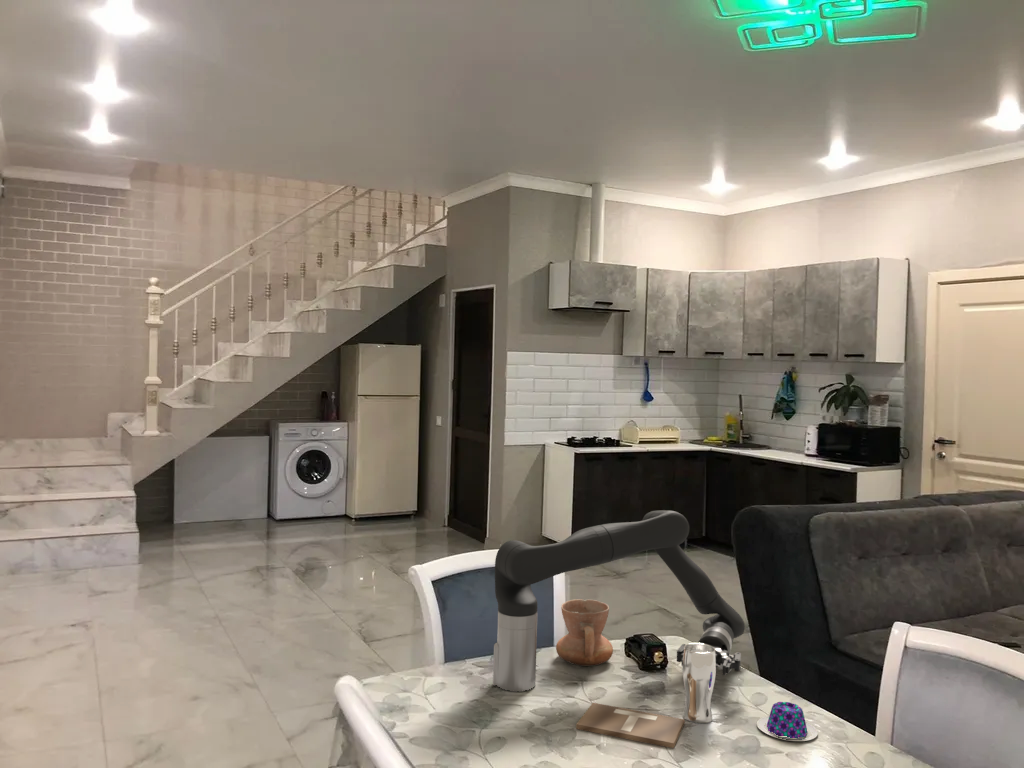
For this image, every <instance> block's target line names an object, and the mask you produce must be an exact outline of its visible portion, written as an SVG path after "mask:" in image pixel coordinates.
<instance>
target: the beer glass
mask: <svg viewBox="0 0 1024 768" xmlns="http://www.w3.org/2000/svg"><path fill="white" fill-rule="evenodd" d="M685 644H686V645H685V646H684V654H683V666H682V679H683V686H684V687H683V688H684V695H685V703H684V709H683V715H682V716H683V719H685V721H688V722H690V723H694V724H700V725H701V724H703V725H704V724H709V723H711V722H712V721H713V712H712V711H713V710H712V698H713V697H712V696H713V691H714V688H715V687H714V686H715V681H716V676H717V667H716V655H715V648H714V647H712V646H710V645H707V644H702V643H698V642H691V643H685Z"/></svg>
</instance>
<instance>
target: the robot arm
mask: <svg viewBox="0 0 1024 768" xmlns="http://www.w3.org/2000/svg"><path fill="white" fill-rule="evenodd" d="M689 533H690V523H689V521H688V519H687V518H686V517H685V516H684V514H681V513H679V512H678V511H674V510H665V509H663V510H651V511H650V512H647V513H646V514H645V515H644V516H643V518H642V520H640V521H631V522H629V521H626V522H612V523H611V522H610V523H603V524H598V525H593V526H589V527H585V528H582V529H578V530H577V531H575V532H573V533H572V534H571V535H569V536H568V537H566V538H565V539H563V540H561V541H558V542H555V543H550V544H549V543H548V544H544V545H543V544H541V545H530V544H528V543H526V542H523V541H520V540H517V539H516V540H515V539H513V540H512V539H511V540H507V541H506V542H504V543H503V544H502V545H501V546H500V547H499V548H498V551H497V552H496V555H495V559H494V592H495V593H494V594H495V595H494V596H495V598H496V602H497V632H496V633H497V636H496V639H497V642H495V643H494V644H493V664H492V665H493V668H492V672H493V673H492V685H493V686H495V685H497V686H496V687H498V688H499V687H500V688H499V689H501V688H502V689H501V690H504V689H505V690H504V691H507V690H510V691H509V692H517V691H519V692H526V691H525V690H527V691H530V690H532V689H534V688H535V687H536V681H537V680H536V679H537V672H536V671H537V644H538V643H537V641H538V636H537V634H538V633H537V632H538V630H537V629H538V600H537V597H536V596H535V594H534V592H533V590H532V586H531V585H535V584H536V583H539V582H542V581H544V580H547V579H550V578H552V577H554V576H557V575H560V574H564V573H567V572H573V571H577V570H582V569H587V568H591V567H595V566H600V565H604V564H607V563H611V562H614V561H618V560H620V559H624V558H627V557H631V556H633V555H636V554H639V553H641V552H645V551H651V550H654V552H655V553H656V554H657V555H658V556H659V557H660V559H661V560H662V561H663V562H664V564H665V565H666V566H667V567H668V569H670V571H671V572H672V574H673V575H674V576H675V578H676V579H677V581H679V583H680V585H681V586H682V588H683V590H684V591H685V593H686V595H688V598H690V600H691V602H692V604H693V605H694V607H695V608H696V610H697V611H698V613H700V614H701V615H712V616H710V617H708V618H706V619H704V621H703V622H702V629H703V633H702V634H701V636H700V638H699V639H698V642H697V643H702V644H707V645H710V646H712V647H714V648H715V655H716V668H717V667H718V669H720V670H722V671H721V672H722V673H721V674H722V676H726V675H727V674H730V672H731V671H732V670H734V672H740V671H741V665H742V662H741V661H742V653H741V652H739V651H737V652H735V653H733V654H731V651H732V645H733V643H734V639H736V638H739V637H741V636H742V635H743V634H744V633H745V630H746V625H745V621H744V620H743V617H742V616H741V615H740V613H738V611H737V610H736V609H734V607H732V606H731V605H730V603H729V604H728V602H727V601H726V600H725V599H724V598H723V597H722V596H721V595H720V593H719V591H718V590H717V589H716V587H715V585H714V583H713V582H712V580H711V578H710V577H709V576H708V575H707V574H706V572H705V571H704V570H703V569H702V568H701V567H700V566H699V565H698V564H697V563H696V562H694V561H693V559H692V558H691V557H689V556H688V555H687V553H686V552H685V551H684V550H683V548H682V547H681V546H680V545H681V544H683V543H684V542H685V541H686V540H687V538H688V536H689ZM714 614H715V615H714ZM686 644H687V643H682V644H681V645H680V646H679V647H678V648H677V650H676V662H678V663H681V664H680V665H681V666H682V667H683V654H684V646H685V645H686ZM534 686H535V687H534ZM533 687H534V688H533ZM531 688H532V689H531ZM529 689H530V690H529Z"/></svg>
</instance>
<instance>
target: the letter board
mask: <svg viewBox="0 0 1024 768" xmlns="http://www.w3.org/2000/svg"><path fill="white" fill-rule="evenodd" d="M685 721H686V719H685V718H679V717H673V716H667V715H662V714H656V713H651V712H646V711H640V710H634V709H629V708H625V707H619V706H614V705H613V706H612V705H608V704H602V703H596V702H592V703H591V704H590V705H589V707H588V708H587V709H586V711H585V712H584V713H583V714H582V716H581V717H580V719H579V720H578V721H577V722H576V724H575V725H576V726H575V729H576V730H581V731H586V732H591V733H595V734H601V735H606V736H610V737H616V738H621V739H626V740H629V741H635V742H641V743H645V744H649V745H656V746H662V747H665V748H670V749H674V748H675V747H676V744H677V742H678V740H679V738H680V735H681V733H682V731H683V728H684V726H685V724H686V722H685Z"/></svg>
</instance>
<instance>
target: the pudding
mask: <svg viewBox="0 0 1024 768" xmlns="http://www.w3.org/2000/svg"><path fill="white" fill-rule="evenodd" d="M765 723H766V724H767V725H766V729H768V731H770V733H771V732H773V733H772V734H773V735H772V734H770V733H769V732H767V730H766V729H765V728H764V725H765ZM756 726H757V728H758V729H759V731H762V732H763V733H765V734H767V735H769V736H771V737H773V738H777V739H780V740H784V741H787V740H786V739H787V737H790V738H797V739H799V738H798V737H805V736H806V737H807V734H806V733H808V731H807V728H808V729H809V730H810V732H811V734H812V736H810V737H809V738H807V739H803V738H801V739H802V740H788V741H790V742H805V741H807V742H808V741H811V740H814V739H815V738H817V736H818V735H819V734H818V730H817V728H815V726H814V725H812V724H810V723H808V722H806V719H805V714H804V710H803V708H801V706H799V705H798V704H796V703H792V702H789V701H778V702H775V703H774V704H772V706H771V708H770V712H769V715H768V716H763V717H761V718H759V719H757V722H756ZM812 732H813V733H812ZM774 733H775V734H776V735H778V737H779V736H787V737H786V739H782V738H783V737H782V738H778V737H776V736H774V735H775V734H774Z"/></svg>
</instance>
